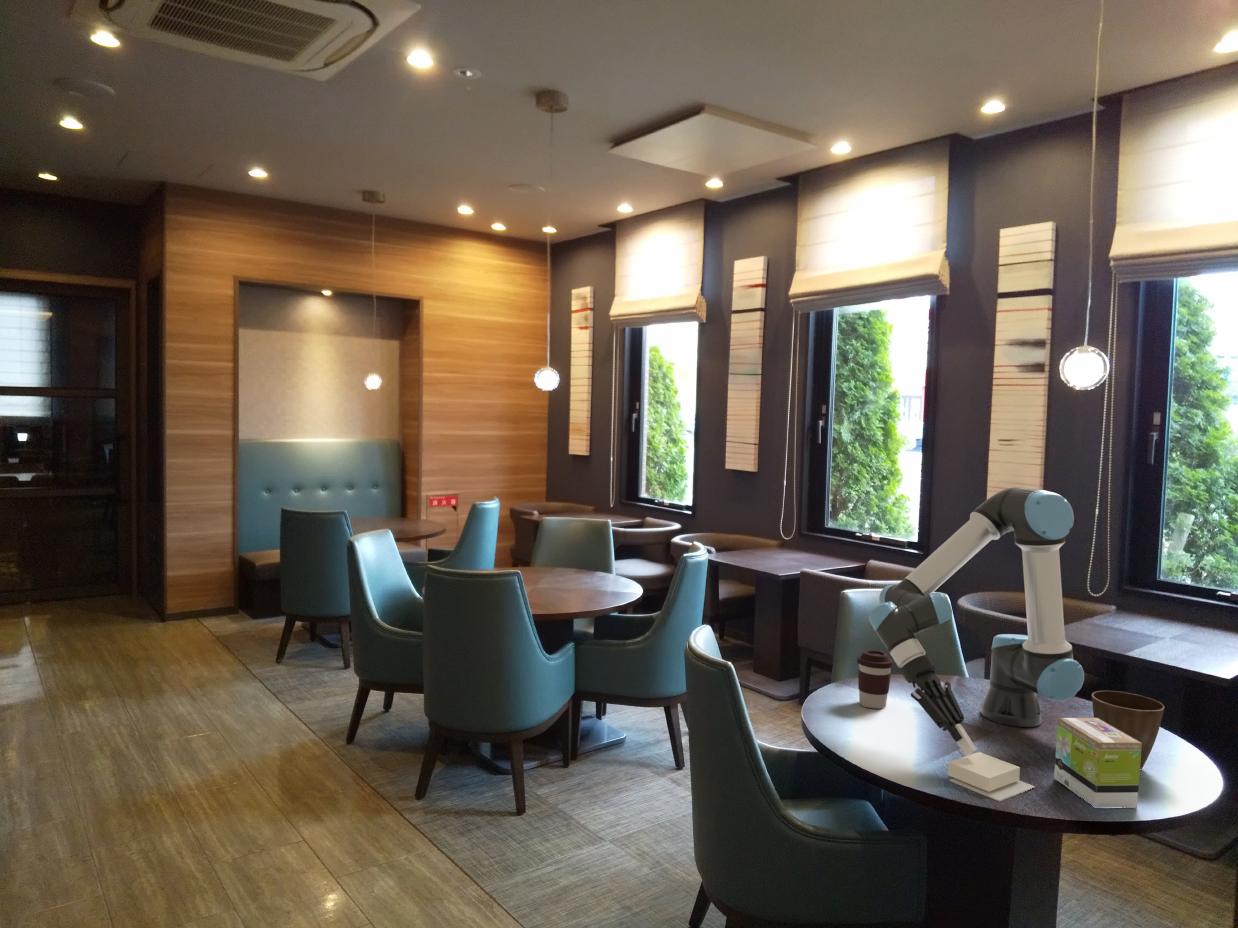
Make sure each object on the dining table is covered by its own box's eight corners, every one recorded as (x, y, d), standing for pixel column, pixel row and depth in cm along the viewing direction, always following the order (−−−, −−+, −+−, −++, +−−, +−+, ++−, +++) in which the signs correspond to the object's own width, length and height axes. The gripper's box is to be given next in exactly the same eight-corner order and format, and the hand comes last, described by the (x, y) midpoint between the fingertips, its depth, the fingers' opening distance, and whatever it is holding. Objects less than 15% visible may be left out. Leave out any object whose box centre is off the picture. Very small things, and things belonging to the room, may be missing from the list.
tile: (979, 751, 198) (1020, 767, 189) (978, 765, 198) (1019, 781, 190) (948, 761, 191) (989, 778, 183) (947, 776, 191) (988, 793, 183)
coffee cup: (892, 712, 234) (895, 659, 233) (855, 708, 236) (858, 655, 235) (888, 701, 244) (891, 649, 243) (853, 697, 246) (856, 646, 245)
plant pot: (1073, 757, 206) (1077, 693, 206) (1114, 750, 213) (1118, 687, 212) (1132, 782, 193) (1137, 713, 192) (1173, 773, 199) (1178, 706, 198)
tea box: (1051, 779, 193) (1056, 715, 192) (1093, 779, 194) (1098, 716, 193) (1094, 809, 178) (1099, 740, 177) (1139, 809, 179) (1144, 741, 178)
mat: (985, 768, 197) (985, 766, 197) (1035, 787, 188) (1035, 786, 188) (949, 780, 189) (949, 779, 189) (999, 801, 180) (999, 800, 180)
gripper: (919, 666, 212) (976, 754, 199) (886, 673, 204) (942, 765, 191) (939, 650, 207) (998, 739, 194) (906, 657, 200) (965, 750, 187)
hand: (971, 752), depth 193 cm, fingers closed
